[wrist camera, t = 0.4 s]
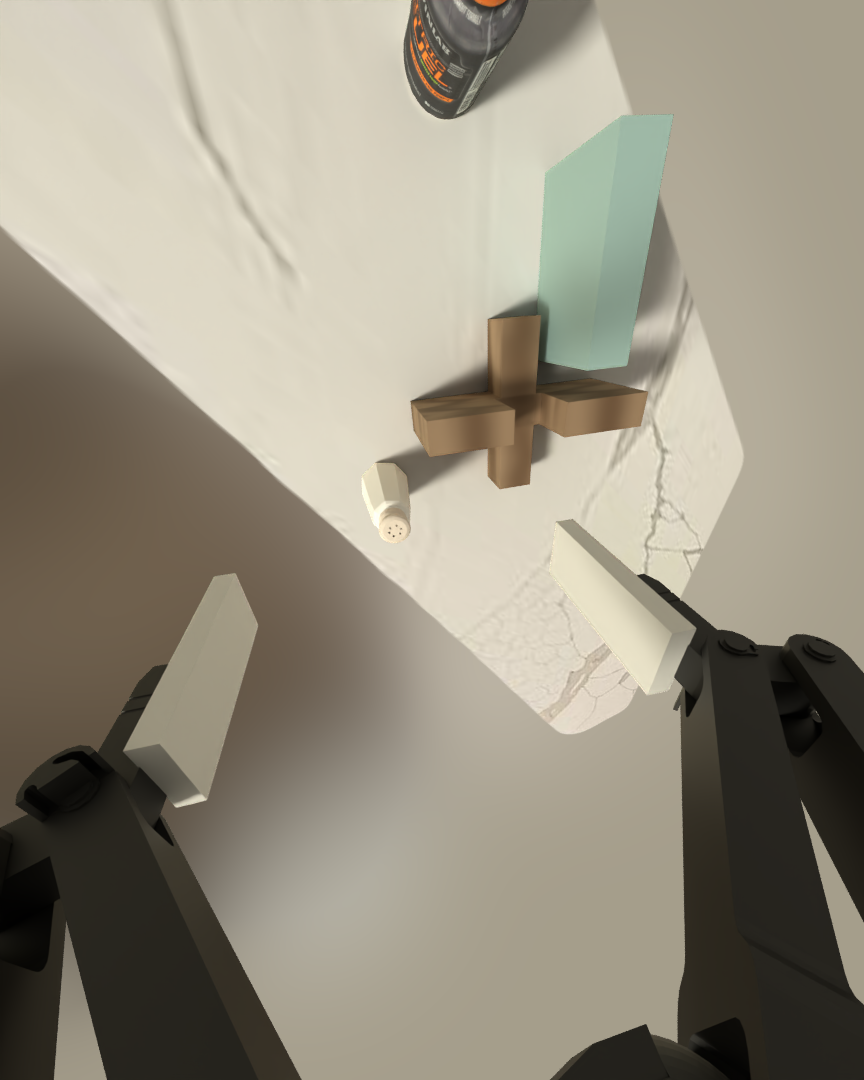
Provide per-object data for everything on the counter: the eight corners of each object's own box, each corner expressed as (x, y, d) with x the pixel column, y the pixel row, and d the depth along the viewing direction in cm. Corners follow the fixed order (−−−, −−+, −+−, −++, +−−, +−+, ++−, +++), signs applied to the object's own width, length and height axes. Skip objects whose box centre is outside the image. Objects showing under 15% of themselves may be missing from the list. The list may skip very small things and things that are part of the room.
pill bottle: (384, 44, 25) (407, -128, 15) (451, -36, 24) (521, -274, 14) (437, 144, 28) (483, 53, 18) (499, 78, 27) (582, -56, 17)
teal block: (544, 173, 30) (621, 115, 22) (583, 171, 31) (673, 114, 22) (533, 359, 37) (587, 370, 29) (565, 356, 38) (627, 365, 30)
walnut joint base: (419, 486, 42) (435, 522, 35) (402, 327, 34) (418, 329, 26) (579, 461, 45) (626, 490, 37) (600, 307, 36) (667, 304, 29)
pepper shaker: (371, 512, 43) (377, 564, 33) (352, 471, 40) (353, 516, 30) (414, 495, 43) (433, 544, 33) (398, 453, 40) (414, 493, 30)
